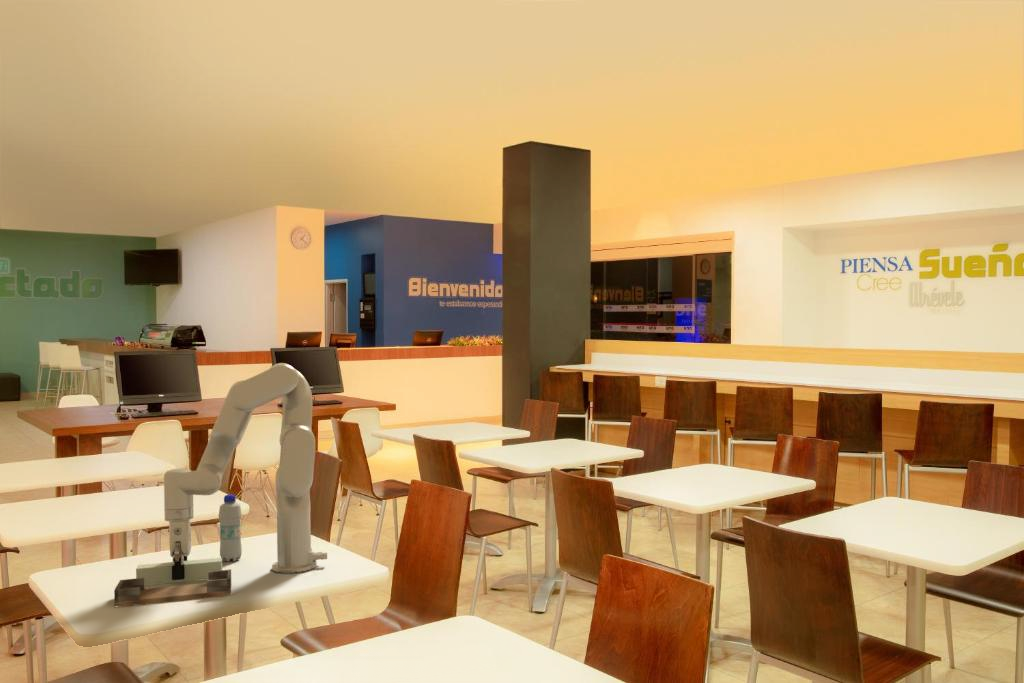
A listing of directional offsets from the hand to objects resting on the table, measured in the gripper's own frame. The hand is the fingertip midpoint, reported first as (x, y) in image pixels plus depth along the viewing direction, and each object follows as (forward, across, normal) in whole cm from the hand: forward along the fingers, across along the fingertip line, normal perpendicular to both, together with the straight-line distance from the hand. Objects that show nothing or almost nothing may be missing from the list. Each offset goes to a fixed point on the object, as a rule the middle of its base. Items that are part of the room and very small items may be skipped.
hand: (179, 574), depth 228 cm
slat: (+2, 0, 0) cm, 2 cm away
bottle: (+2, +17, -13) cm, 22 cm away
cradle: (+1, -15, 0) cm, 15 cm away
